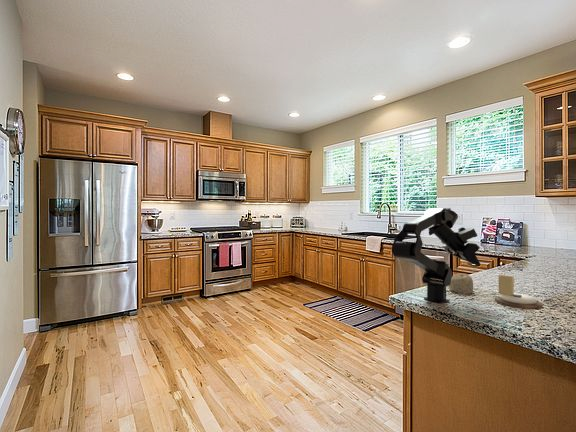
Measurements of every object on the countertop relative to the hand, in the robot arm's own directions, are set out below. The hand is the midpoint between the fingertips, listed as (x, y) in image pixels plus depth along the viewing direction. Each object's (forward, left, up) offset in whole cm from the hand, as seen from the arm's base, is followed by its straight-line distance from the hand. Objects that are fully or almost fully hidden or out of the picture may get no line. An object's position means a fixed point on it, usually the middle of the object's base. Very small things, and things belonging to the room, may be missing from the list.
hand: (477, 264), depth 117 cm
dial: (+9, -9, -12) cm, 18 cm away
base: (+9, -9, -14) cm, 19 cm away
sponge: (+7, +12, -14) cm, 20 cm away
